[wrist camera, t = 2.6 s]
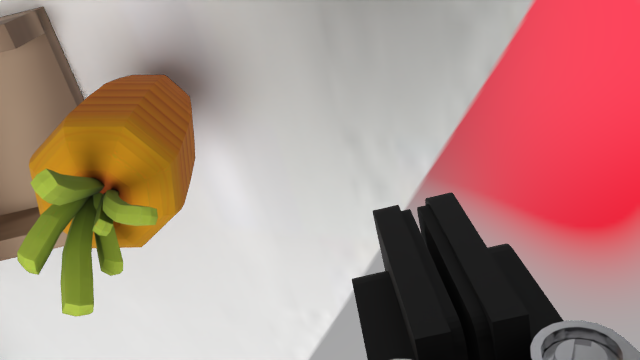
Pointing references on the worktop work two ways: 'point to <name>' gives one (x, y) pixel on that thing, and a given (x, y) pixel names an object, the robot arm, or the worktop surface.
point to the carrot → (109, 180)
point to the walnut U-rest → (28, 116)
